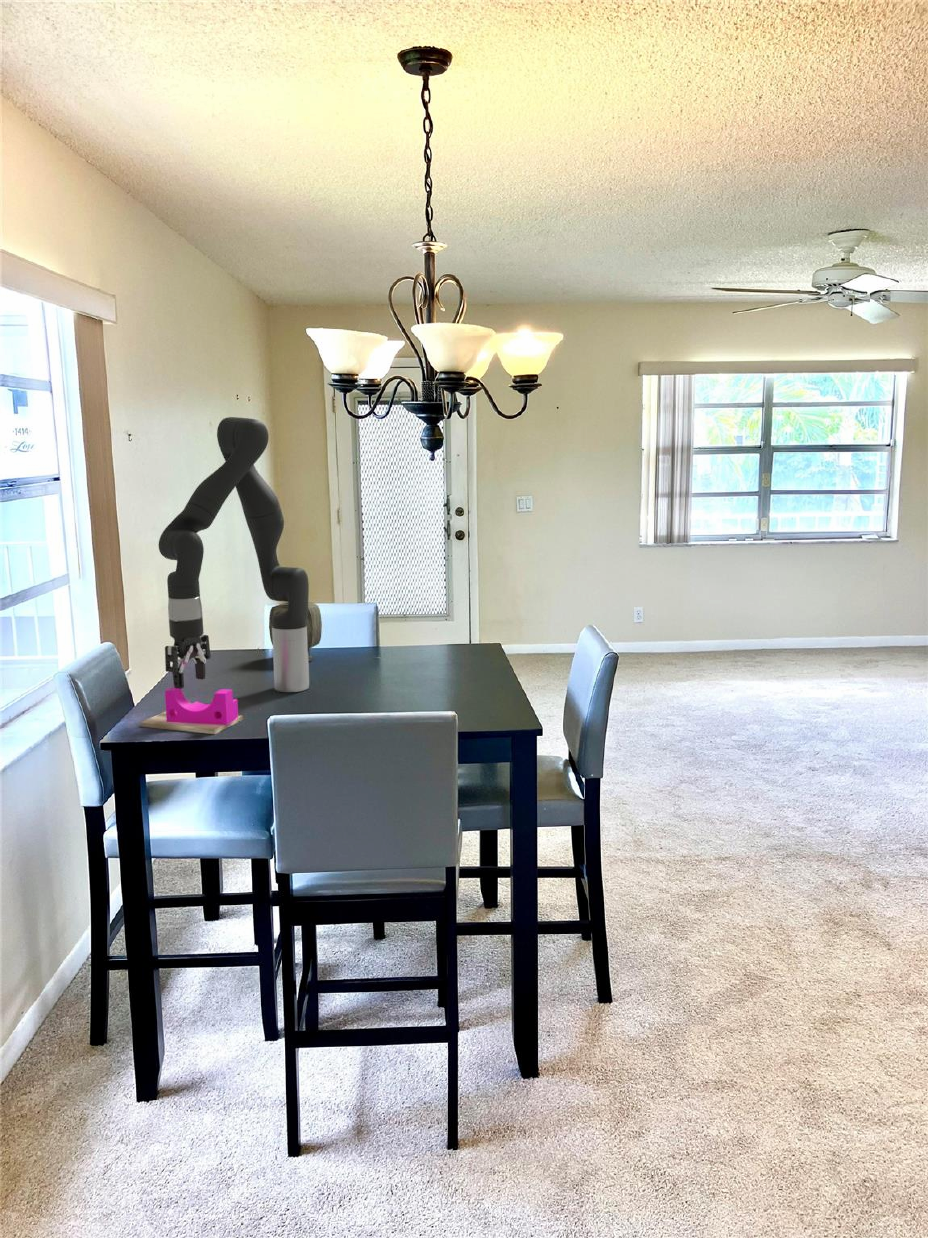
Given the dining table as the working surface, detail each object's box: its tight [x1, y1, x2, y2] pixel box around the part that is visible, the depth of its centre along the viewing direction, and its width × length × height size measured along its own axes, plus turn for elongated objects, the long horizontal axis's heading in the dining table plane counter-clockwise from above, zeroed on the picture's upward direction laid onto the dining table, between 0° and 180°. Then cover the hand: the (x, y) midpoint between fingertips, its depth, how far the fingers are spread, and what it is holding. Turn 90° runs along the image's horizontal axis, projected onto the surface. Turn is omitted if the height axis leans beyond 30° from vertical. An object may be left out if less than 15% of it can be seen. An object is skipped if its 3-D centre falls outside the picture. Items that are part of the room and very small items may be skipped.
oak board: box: [139, 710, 244, 735], centre depth 210 cm, size 12×20×1 cm, turn 73°
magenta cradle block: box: [164, 686, 239, 725], centre depth 209 cm, size 15×6×8 cm, turn 80°
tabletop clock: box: [268, 601, 323, 662], centre depth 276 cm, size 14×9×25 cm, turn 77°
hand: (190, 683), depth 209 cm, fingers open, 8 cm apart
